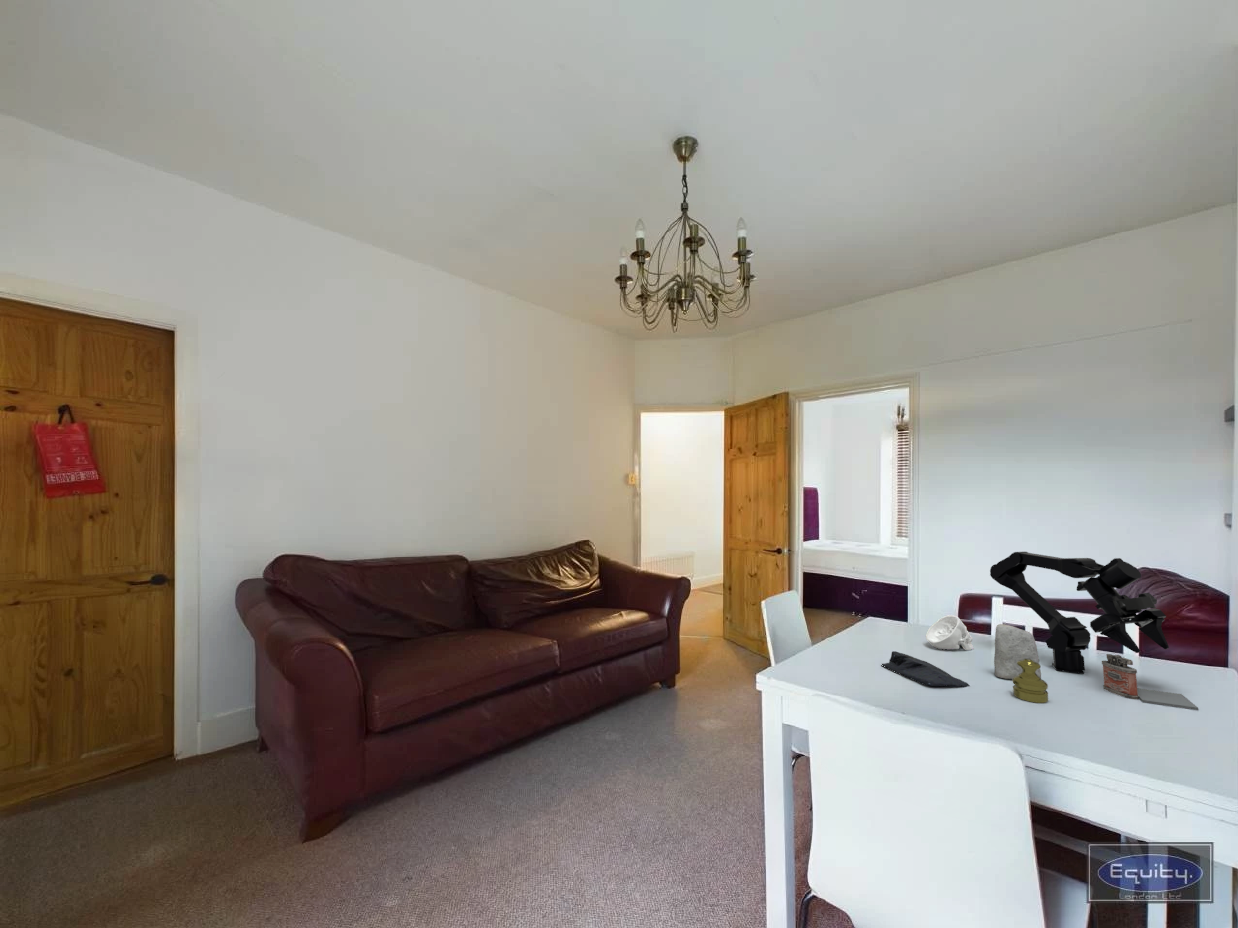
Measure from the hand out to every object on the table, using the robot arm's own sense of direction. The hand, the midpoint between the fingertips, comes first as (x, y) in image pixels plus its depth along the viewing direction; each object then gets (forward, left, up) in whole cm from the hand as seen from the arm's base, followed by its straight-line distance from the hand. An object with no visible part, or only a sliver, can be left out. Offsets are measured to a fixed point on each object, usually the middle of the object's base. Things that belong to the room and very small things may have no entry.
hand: (1153, 650), depth 136 cm
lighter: (-7, -1, -12) cm, 14 cm away
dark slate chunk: (-53, -10, -13) cm, 55 cm away
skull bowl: (-45, +25, -12) cm, 53 cm away
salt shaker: (-28, -16, -12) cm, 35 cm away
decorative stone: (-29, 0, -12) cm, 32 cm away
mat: (+1, -1, -12) cm, 12 cm away
